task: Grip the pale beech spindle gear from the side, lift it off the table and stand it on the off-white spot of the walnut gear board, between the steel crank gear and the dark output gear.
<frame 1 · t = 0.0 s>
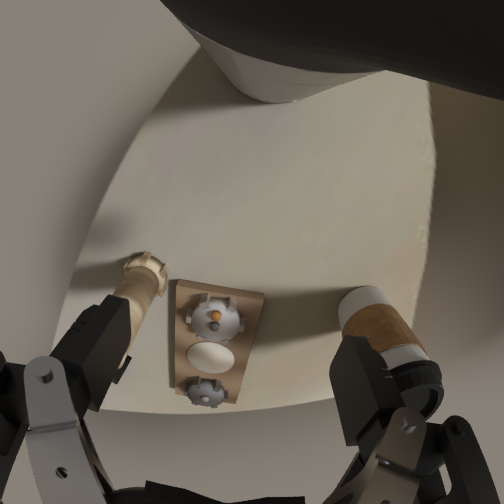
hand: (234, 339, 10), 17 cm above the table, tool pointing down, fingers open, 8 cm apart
spindle gear: (147, 272, 29), on the table
gear board: (211, 350, 34), on the table
coffee cup: (361, 306, 31), on the table
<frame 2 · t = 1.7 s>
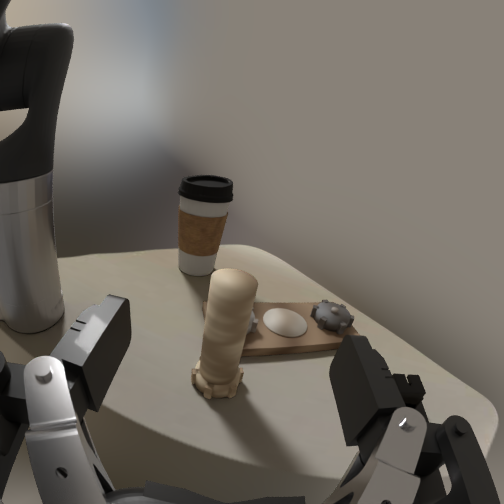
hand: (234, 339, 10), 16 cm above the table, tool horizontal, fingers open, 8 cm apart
spindle gear: (216, 381, 26), on the table
build plate: (389, 410, 26), on the table
gear board: (282, 329, 36), on the table
coffee cup: (195, 268, 47), on the table
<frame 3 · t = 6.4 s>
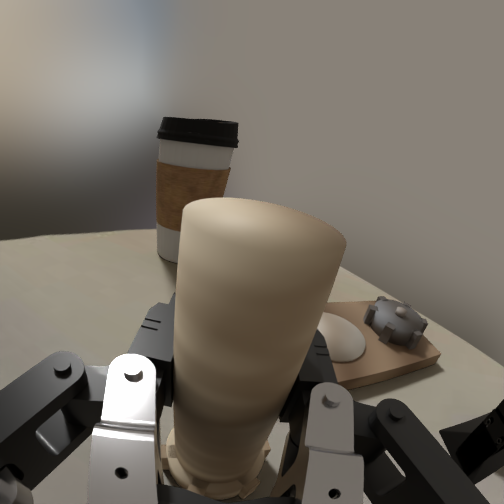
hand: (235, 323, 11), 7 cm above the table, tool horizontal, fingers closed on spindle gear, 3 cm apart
spindle gear: (212, 462, 11), on the table, touching gripper
build plate: (483, 447, 11), on the table
gear board: (324, 347, 21), on the table
coffee cup: (182, 253, 32), on the table
when the fingers open (9 cm above the table, at t = 11.8 s): spindle gear stays where it is, resting on gear board.
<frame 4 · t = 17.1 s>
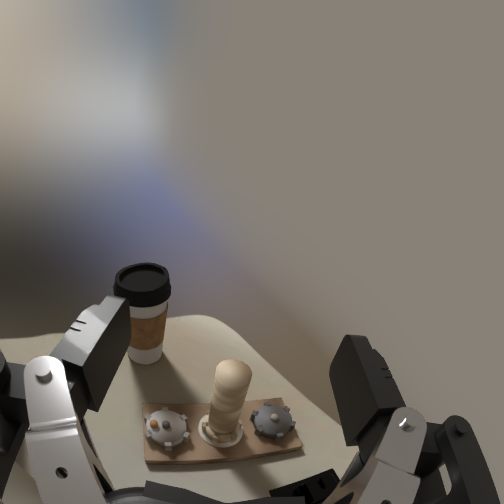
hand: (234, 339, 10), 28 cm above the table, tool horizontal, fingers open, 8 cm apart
spindle gear: (221, 429, 31), point 1 cm above the table, touching gear board
build plate: (309, 497, 24), on the table
gear board: (219, 433, 32), on the table
coffee cup: (144, 352, 43), on the table
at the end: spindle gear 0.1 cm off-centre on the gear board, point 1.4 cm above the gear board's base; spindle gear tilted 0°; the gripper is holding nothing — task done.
